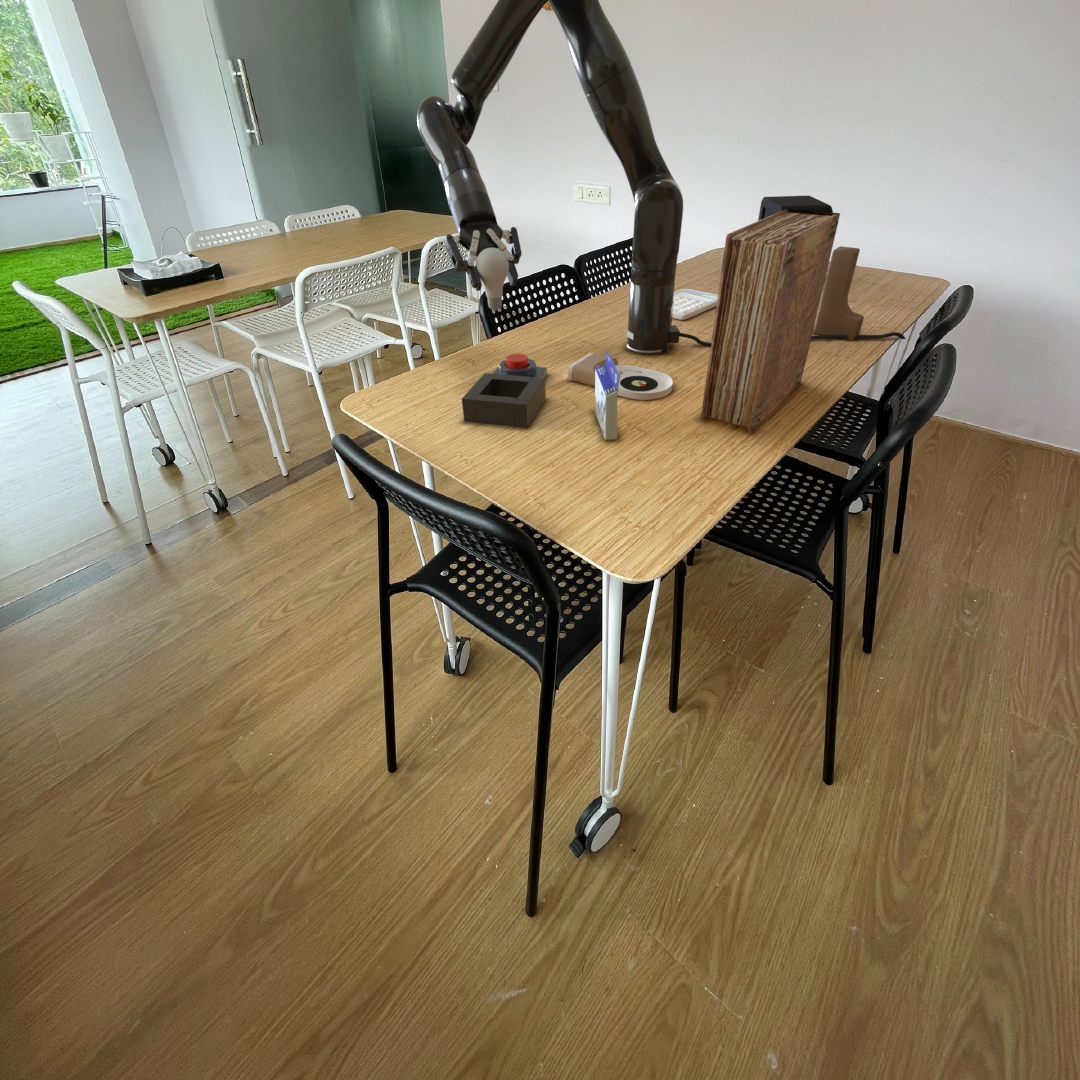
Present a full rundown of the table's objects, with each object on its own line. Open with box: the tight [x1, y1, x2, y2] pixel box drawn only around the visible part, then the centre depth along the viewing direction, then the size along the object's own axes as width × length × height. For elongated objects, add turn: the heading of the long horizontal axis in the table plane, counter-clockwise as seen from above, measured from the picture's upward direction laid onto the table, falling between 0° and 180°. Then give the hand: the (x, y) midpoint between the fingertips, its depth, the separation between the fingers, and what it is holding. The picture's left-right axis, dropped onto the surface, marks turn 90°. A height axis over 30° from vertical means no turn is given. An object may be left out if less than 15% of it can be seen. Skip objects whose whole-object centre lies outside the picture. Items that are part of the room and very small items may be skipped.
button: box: [505, 353, 529, 369], centre depth 123 cm, size 4×4×2 cm
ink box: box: [594, 350, 620, 441], centre depth 105 cm, size 12×2×12 cm, turn 5°
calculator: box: [672, 288, 718, 321], centre depth 161 cm, size 13×20×2 cm, turn 136°
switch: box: [491, 358, 548, 379], centre depth 125 cm, size 10×8×4 cm
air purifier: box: [757, 195, 834, 221], centre depth 177 cm, size 20×15×20 cm
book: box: [700, 209, 841, 433], centre depth 106 cm, size 25×9×30 cm, turn 143°
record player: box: [567, 352, 674, 401], centre depth 122 cm, size 12×3×20 cm
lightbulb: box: [474, 248, 509, 312], centre depth 114 cm, size 6×6×11 cm
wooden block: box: [813, 246, 865, 341], centre depth 137 cm, size 9×4×18 cm, turn 52°
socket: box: [461, 372, 547, 429], centre depth 113 cm, size 12×12×4 cm
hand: (496, 285), depth 113 cm, fingers closed on lightbulb, 6 cm apart
